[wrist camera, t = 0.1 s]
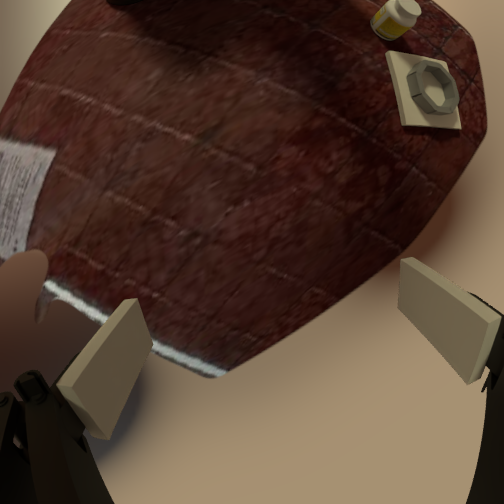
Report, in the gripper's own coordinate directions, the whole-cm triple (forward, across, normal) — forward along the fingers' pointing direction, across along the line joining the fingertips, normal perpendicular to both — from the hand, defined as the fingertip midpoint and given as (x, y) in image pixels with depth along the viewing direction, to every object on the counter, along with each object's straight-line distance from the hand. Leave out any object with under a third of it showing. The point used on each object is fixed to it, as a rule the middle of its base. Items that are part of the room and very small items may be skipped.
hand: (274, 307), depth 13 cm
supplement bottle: (+28, +26, +30) cm, 49 cm away
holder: (+28, +31, +18) cm, 46 cm away
